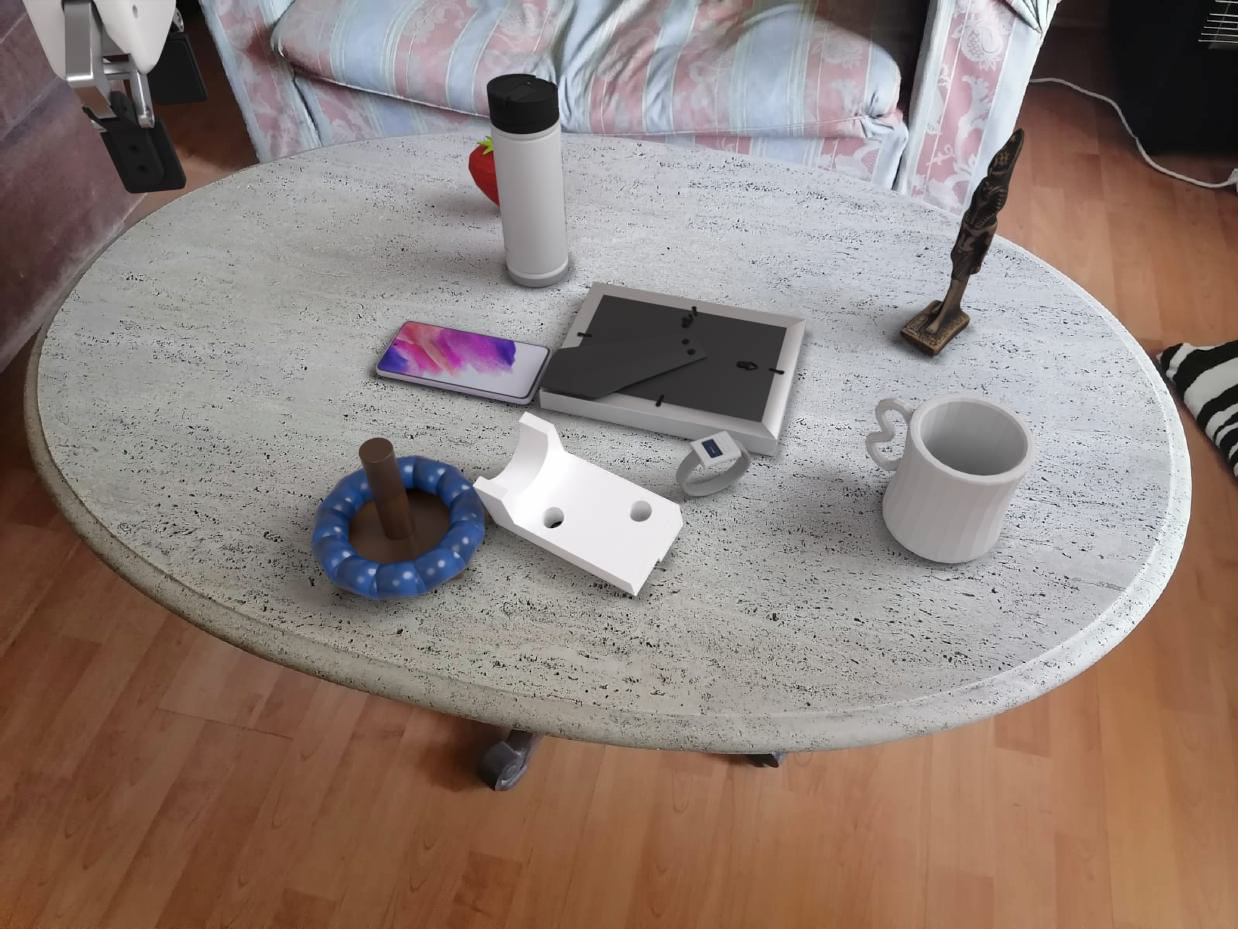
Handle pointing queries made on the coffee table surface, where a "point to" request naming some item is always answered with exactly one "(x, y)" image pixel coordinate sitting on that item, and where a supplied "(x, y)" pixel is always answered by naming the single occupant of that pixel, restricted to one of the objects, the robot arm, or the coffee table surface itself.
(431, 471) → the blue spotted ring
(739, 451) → the wristwatch
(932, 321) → the statue
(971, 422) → the mug
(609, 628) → the coffee table surface
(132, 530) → the coffee table surface
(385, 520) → the peg stand
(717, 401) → the picture frame
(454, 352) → the smartphone
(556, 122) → the travel mug
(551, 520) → the bracket
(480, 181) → the strawberry
